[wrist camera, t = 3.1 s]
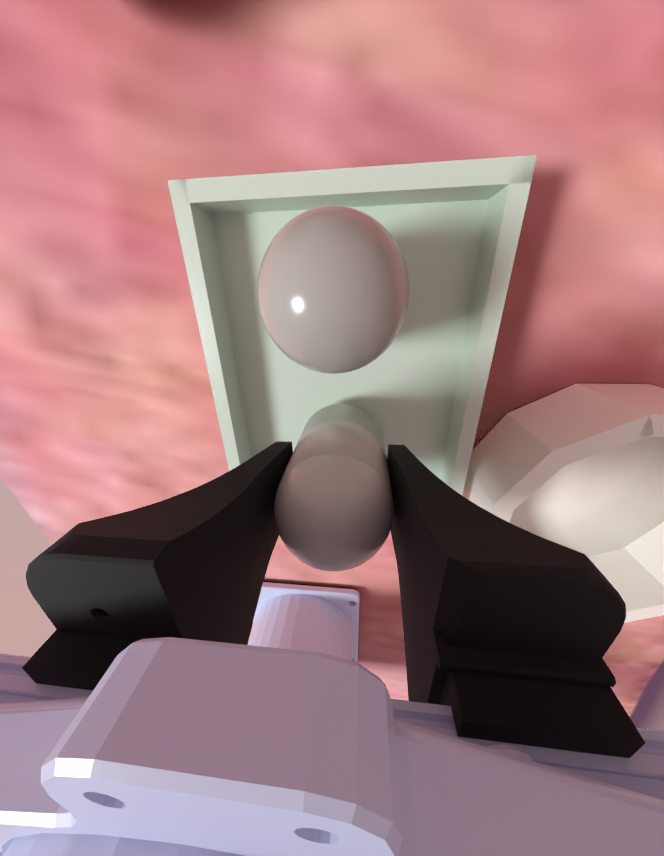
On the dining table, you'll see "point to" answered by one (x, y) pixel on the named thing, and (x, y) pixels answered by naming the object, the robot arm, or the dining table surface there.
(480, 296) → the tray
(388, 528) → the stone
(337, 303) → the stone
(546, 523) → the bowl
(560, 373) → the dining table surface
